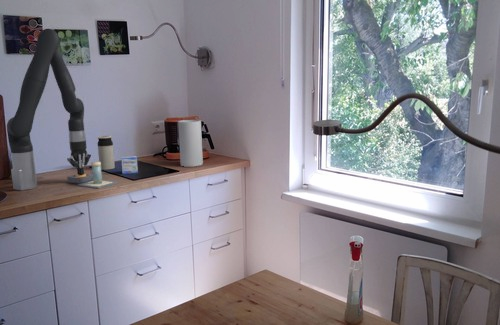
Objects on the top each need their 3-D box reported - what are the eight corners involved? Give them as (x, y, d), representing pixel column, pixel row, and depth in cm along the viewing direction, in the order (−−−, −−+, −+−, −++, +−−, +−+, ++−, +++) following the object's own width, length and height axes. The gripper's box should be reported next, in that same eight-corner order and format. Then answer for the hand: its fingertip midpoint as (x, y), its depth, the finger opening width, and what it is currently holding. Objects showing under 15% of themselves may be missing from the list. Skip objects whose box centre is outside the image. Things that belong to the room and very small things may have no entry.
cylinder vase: (197, 167, 251) (195, 122, 247) (176, 166, 255) (174, 122, 251) (206, 163, 263) (204, 119, 258) (186, 162, 267) (184, 119, 262)
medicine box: (122, 174, 239) (121, 158, 238) (122, 172, 244) (121, 156, 242) (137, 173, 241) (136, 157, 240) (137, 171, 246) (136, 155, 244)
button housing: (80, 184, 219) (79, 178, 219) (67, 182, 224) (67, 176, 223) (95, 180, 227) (94, 174, 226) (82, 178, 231) (82, 172, 231)
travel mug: (117, 167, 258) (115, 135, 254) (109, 170, 250) (106, 137, 247) (105, 167, 260) (102, 135, 256) (96, 170, 252) (94, 137, 249)
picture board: (98, 188, 210) (98, 187, 210) (77, 185, 217) (77, 184, 216) (117, 183, 220) (117, 181, 220) (97, 180, 227) (97, 179, 227)
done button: (80, 180, 222) (80, 176, 221) (73, 179, 224) (73, 175, 224) (88, 178, 226) (88, 174, 225) (81, 177, 228) (81, 173, 228)
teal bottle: (97, 184, 215) (95, 163, 213) (91, 183, 217) (89, 163, 215) (104, 182, 219) (102, 162, 217) (98, 181, 221) (96, 161, 219)
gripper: (71, 142, 214) (75, 178, 217) (93, 138, 225) (97, 173, 228) (60, 141, 218) (64, 177, 221) (83, 137, 229) (86, 171, 232)
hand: (81, 175), depth 225 cm, fingers closed
